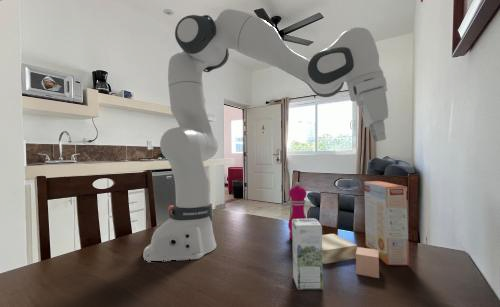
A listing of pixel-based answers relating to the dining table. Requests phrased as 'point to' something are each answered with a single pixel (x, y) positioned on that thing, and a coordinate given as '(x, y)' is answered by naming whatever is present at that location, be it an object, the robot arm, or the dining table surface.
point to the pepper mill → (297, 204)
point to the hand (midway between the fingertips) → (379, 140)
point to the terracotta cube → (367, 262)
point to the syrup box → (307, 254)
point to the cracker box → (387, 221)
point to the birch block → (337, 249)
